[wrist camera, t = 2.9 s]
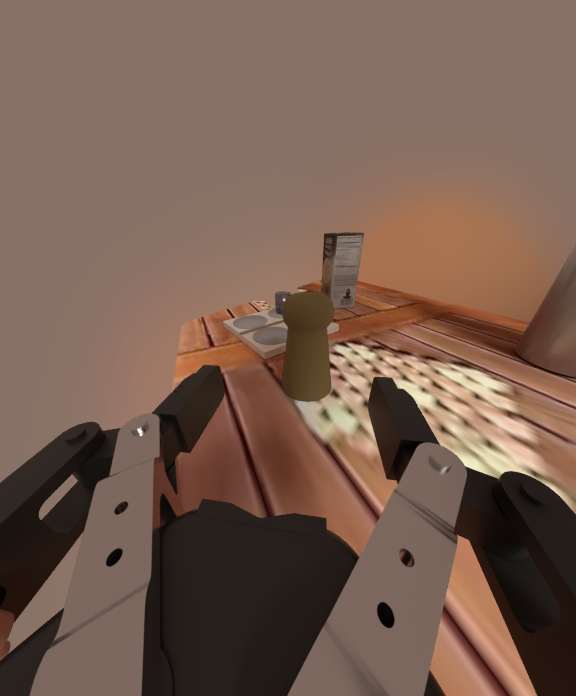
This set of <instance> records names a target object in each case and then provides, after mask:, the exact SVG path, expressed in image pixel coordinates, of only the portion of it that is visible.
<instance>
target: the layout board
mask: <svg viewBox="0 0 576 696" xmlns="http://www.w3.org/2000/svg"><path fill="white" fill-rule="evenodd" d="M223 324H224V327H225V328H226V329H228V330H229V331H230V332H231V333H233V334H234V335H235V336H236V337H238V338H239V339H240V340H241V341H243V342H244V343H245V344H246V345H248V346H249V347H250V348H251V349H253V350H254V351H255V352H256V353H258V354H259V355H260V356H261V357H263V358H264V359H268V358H270V357H273V356H275V355H278V354H280V353H283V352H285V348H286V339H287V330H288V327H287V326H286V324H285V323H284V320H283V316H282V315H280V314H277V313H276V308H273V309H270V310H266V311H262V312H258V313H254V314H250V315H246V316H242V317H238V318H234V319H230V320H226V321H223ZM338 329H339V325H338V324H336V323H333V322H331V324H330V325H329V326H328V327H327V334H328V335H329V334H331V333H334V332H336V331H338Z"/></svg>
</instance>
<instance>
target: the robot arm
mask: <svg viewBox="0 0 576 696" xmlns="http://www.w3.org/2000/svg"><path fill="white" fill-rule="evenodd" d="M515 352H516V353H517V354H518V355H519V356H520V357H521V358H523V359H525V360H527V361H528V362H530V363H532V364H535V365H537V366H539V367H542V368H544V369H547V370H550V371H553V372H556V373H559V374H563V375H567V376H570V377H575V378H576V245H575V246H574V248H573V250H572V252H571V253H570V255H569V257H568V258H567V260H566V262H565V264H564V265H563V267H562V269H561V271H560V272H559V274H558V276H557V277H556V279H555V281H554V282H553V284H552V286H551V288H550V289H549V291H548V293H547V294H546V296H545V298H544V300H543V301H542V303H541V305H540V306H539V308H538V310H537V312H536V313H535V315H534V317H533V319H532V320H531V322H530V323H529V325H528V327H527V328H526V330H525V332H524V334H523V335H522V337H521V339H520V340H519V342H518V344H517V346H516V347H515ZM224 392H225V389H224V384H223V379H222V374H221V369H220V367H219V366H214V365H203V366H202V367H201V368H200V369H199V370H198V372H197V373H194V374H192V375H190V376H189V377H187V378H185V379H184V380H183V381H182V382H181V383H180V384H179V385H178V387H176V388H175V390H174V391H173V393H171V394H170V395H169V396H168V397H167V398H166V399H165V400H164V401H163V402H162V403H161V404H160V405H159V406H158V407H157V408H156V409H155V410H154V412H152V414H144V415H140V416H138V417H136V418H133V419H132V420H130V421H129V422H127V423H126V424H125V425H124V426H123V427H122V428H118V429H112V430H106V431H103V430H102V429H101V427H100V426H99V424H98V423H95V422H87V423H83V424H79V425H77V426H75V427H72V428H70V429H68V430H67V431H65V432H63V433H62V434H61V435H59V436H58V437H57V438H56V439H55V440H53V441H52V442H51V443H49V444H48V445H47V446H46V447H44V448H43V449H42V450H41V451H39V452H38V453H37V454H36V455H35V456H33V457H32V458H31V459H29V460H28V461H27V462H26V463H24V464H23V465H22V466H21V467H19V468H18V469H17V470H16V471H14V472H13V473H12V474H11V475H10V476H8V477H7V478H6V479H5V480H3V481H2V482H1V483H0V696H446V695H445V694H444V692H443V690H442V689H441V687H440V686H439V684H438V682H437V681H436V679H435V677H434V676H433V674H432V673H431V671H430V665H431V660H432V656H433V651H434V647H435V642H436V638H437V633H438V629H439V624H440V620H441V615H442V610H443V606H444V601H445V597H446V592H447V588H448V583H449V579H450V574H451V570H452V565H453V561H454V556H455V552H456V547H457V539H458V538H457V535H459V536H461V537H464V538H466V539H468V540H469V541H470V543H471V546H472V548H473V550H474V552H475V555H476V557H477V559H478V562H479V564H480V566H481V568H482V571H483V573H484V575H485V578H486V580H487V582H488V584H489V587H490V589H491V591H492V593H493V596H494V598H495V600H496V603H497V605H498V607H499V609H500V612H501V614H502V616H503V619H504V621H505V623H506V625H507V628H508V630H509V632H510V634H511V637H512V639H513V641H514V644H515V646H516V648H517V650H518V653H519V655H520V657H521V660H522V662H523V664H524V666H525V669H526V671H527V673H528V676H529V678H530V680H531V682H532V685H533V687H534V689H535V691H536V694H537V696H576V514H575V513H574V512H573V511H572V510H571V509H570V507H569V506H568V505H567V504H566V503H565V502H564V501H563V499H562V498H561V497H560V496H559V495H557V494H556V493H555V492H554V491H553V490H552V489H550V488H549V487H548V486H546V485H545V484H543V483H541V482H540V481H538V480H536V479H534V478H532V477H530V476H528V475H525V474H522V473H519V472H513V471H509V472H504V473H503V474H502V475H501V476H500V477H499V479H498V478H495V477H492V476H489V475H487V474H484V473H481V472H478V471H476V470H473V469H470V468H468V467H466V466H464V464H463V462H462V461H461V460H460V459H459V458H458V457H457V456H456V455H455V454H454V453H453V452H451V451H450V450H448V449H447V448H445V447H443V446H441V445H440V444H439V442H438V441H437V439H436V437H435V435H434V434H433V432H432V430H431V428H430V427H429V425H428V423H427V421H426V420H425V418H424V416H423V415H422V413H421V411H420V409H419V408H418V406H417V404H416V402H415V400H414V399H413V397H412V396H411V395H410V394H409V393H407V392H406V391H405V390H404V389H398V388H397V386H396V384H395V382H394V380H393V379H392V378H387V377H374V379H373V383H372V388H371V392H370V397H369V402H368V411H369V415H370V419H371V423H372V426H373V430H374V434H375V438H376V441H377V445H378V449H379V452H380V456H381V460H382V463H383V467H384V471H385V475H386V478H387V479H389V480H397V483H398V485H397V487H396V489H395V490H394V491H393V493H392V495H391V497H390V499H389V501H388V503H387V505H386V507H385V509H384V511H383V513H382V514H381V516H380V518H379V520H378V522H377V524H376V526H375V528H374V530H373V532H372V534H371V536H370V538H369V540H368V542H367V544H366V546H365V548H364V550H363V551H362V553H361V555H360V557H359V556H358V555H357V553H356V552H355V551H354V550H353V549H352V548H351V547H350V546H349V545H348V544H347V543H346V542H345V541H344V540H343V539H342V538H340V537H339V536H337V535H336V534H335V533H333V532H331V531H329V530H327V529H326V518H321V517H315V516H308V515H302V514H296V513H292V514H286V515H279V516H273V517H266V518H258V517H256V516H254V515H252V514H250V513H249V512H247V511H245V510H243V509H241V508H239V507H237V506H235V505H234V504H232V503H226V502H220V501H214V500H208V499H202V502H201V504H200V506H199V508H198V509H196V510H193V511H189V512H187V513H184V510H183V506H182V502H181V493H180V482H179V470H178V460H177V458H176V457H177V456H178V454H179V453H180V452H186V453H190V452H191V451H192V449H193V448H194V446H195V444H196V443H197V441H198V439H199V438H200V436H201V434H202V433H203V431H204V429H205V428H206V426H207V424H208V423H209V421H210V419H211V418H212V416H213V415H214V413H215V411H216V410H217V408H218V406H219V405H220V403H221V401H222V400H223V397H224ZM71 474H73V476H74V477H75V478H76V479H77V480H78V482H77V483H76V484H75V485H74V486H73V487H72V488H71V489H70V490H69V491H68V492H67V493H66V494H65V496H64V497H63V498H62V499H61V500H60V501H59V502H58V503H57V504H56V505H55V506H54V507H53V508H52V509H51V510H50V512H49V513H48V514H47V515H46V516H45V517H44V518H43V519H42V520H40V519H39V510H40V508H41V506H42V505H43V503H44V502H45V501H46V500H47V499H48V498H49V497H50V496H51V494H52V493H54V491H56V490H57V489H58V488H59V486H61V485H62V483H64V482H65V480H67V479H68V477H70V475H71ZM83 531H84V534H83V537H82V542H81V545H80V549H79V553H78V557H77V561H76V565H75V569H74V573H73V576H72V580H71V585H70V588H69V592H68V596H67V600H66V604H65V607H64V608H63V609H62V610H61V611H60V612H58V613H57V614H56V615H55V616H53V617H52V618H51V619H50V620H49V621H47V622H46V623H45V624H44V625H43V626H41V627H40V628H39V629H38V630H36V631H35V632H34V633H33V634H32V635H30V636H29V637H28V638H27V639H26V640H25V641H23V642H22V643H21V644H20V645H18V646H17V647H16V648H15V649H14V650H12V651H11V652H10V653H9V654H8V652H9V650H10V642H9V641H7V639H8V637H9V634H10V632H11V629H12V627H13V623H14V622H15V621H16V619H17V618H18V617H19V615H20V614H21V613H22V611H23V610H24V609H25V608H26V606H27V605H28V604H29V602H30V601H31V600H32V598H33V597H34V596H35V595H36V593H37V592H38V591H39V589H40V588H41V587H42V585H43V584H44V583H45V581H46V580H47V579H48V577H49V576H50V575H51V573H52V572H53V571H54V569H55V568H56V567H57V565H58V564H59V563H60V562H61V560H62V559H63V558H64V556H65V555H66V554H67V552H68V551H69V550H70V548H71V547H72V546H73V544H74V543H75V542H76V540H77V539H78V538H79V537H80V535H81V534H82V533H83ZM456 534H457V535H456Z"/></svg>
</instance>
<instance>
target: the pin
mask: <svg viewBox="0 0 576 696" xmlns="http://www.w3.org/2000/svg"><path fill="white" fill-rule="evenodd" d="M288 296H290V292H277V293H275V303H276V313H277V314H280V315H282V306H283V303H284V301H285V299H286V298H287V297H288Z"/></svg>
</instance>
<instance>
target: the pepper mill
mask: <svg viewBox="0 0 576 696" xmlns="http://www.w3.org/2000/svg"><path fill="white" fill-rule="evenodd" d="M282 316H283V320H284V323H285V324H286V326H287V327H288V330H287V339H286V348H285V357H284V367H283V376H282V389H283V391H284V392H285V394H286V395H288V396H289V397H291V398H293V399H296V400H299V401H307V402H309V401H317V400H319V399H322V398H324V397H325V396H326V395H328V394H329V392H330V390H331V377H330V362H329V348H328V334H327V327H328V326H329V325H330V324H331V322H332V320H333V317H334V306H333V302H332V300H331V298H329V297H328V296H327V295H325V294H322V293H317V292H300V293H295V294H292V295H290V296H288V297H287V298H286V299H285V301H284V303H283V306H282Z"/></svg>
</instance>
